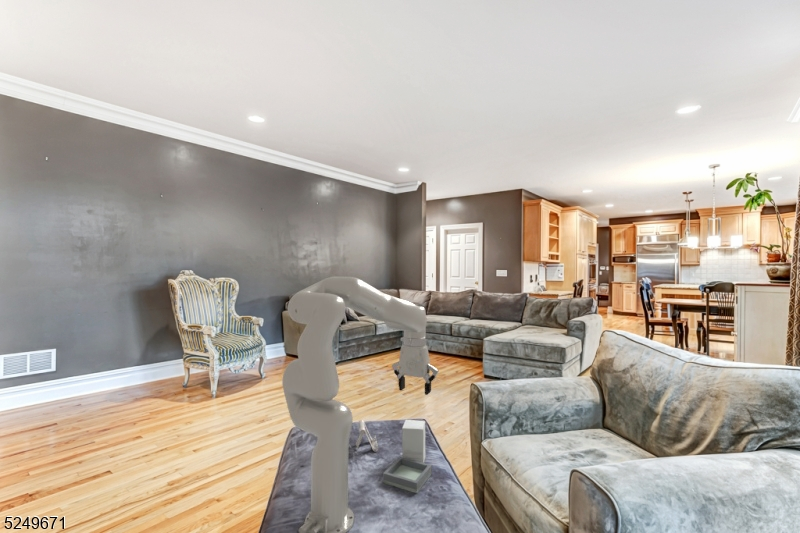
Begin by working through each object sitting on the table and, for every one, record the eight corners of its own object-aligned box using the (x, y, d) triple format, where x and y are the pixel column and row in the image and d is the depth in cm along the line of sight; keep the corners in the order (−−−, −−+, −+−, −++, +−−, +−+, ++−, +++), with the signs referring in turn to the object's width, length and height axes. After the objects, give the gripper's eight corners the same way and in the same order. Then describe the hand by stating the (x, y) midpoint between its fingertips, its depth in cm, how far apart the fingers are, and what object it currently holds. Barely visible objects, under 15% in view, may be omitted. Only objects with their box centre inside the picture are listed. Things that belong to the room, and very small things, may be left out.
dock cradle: (416, 493, 111) (416, 483, 111) (382, 482, 117) (383, 473, 117) (431, 474, 121) (431, 465, 121) (400, 465, 127) (400, 456, 127)
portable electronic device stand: (378, 451, 137) (378, 428, 137) (356, 453, 135) (356, 429, 135) (375, 440, 145) (376, 419, 145) (355, 442, 144) (355, 420, 144)
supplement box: (425, 456, 133) (426, 420, 133) (423, 467, 126) (423, 429, 126) (405, 454, 134) (405, 419, 134) (401, 465, 127) (401, 427, 127)
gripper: (387, 341, 131) (387, 390, 131) (433, 346, 123) (433, 399, 123) (397, 338, 138) (397, 384, 138) (442, 342, 130) (441, 392, 130)
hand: (414, 391), depth 130 cm, fingers open, 9 cm apart
